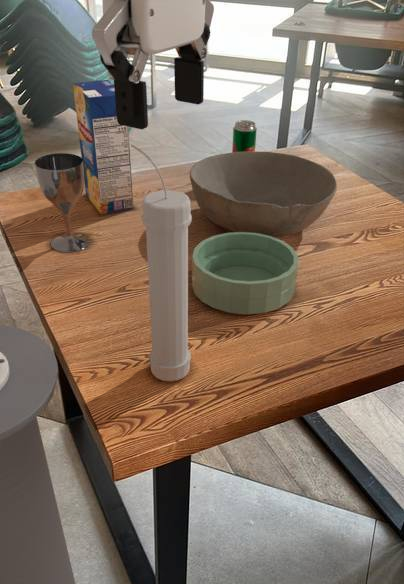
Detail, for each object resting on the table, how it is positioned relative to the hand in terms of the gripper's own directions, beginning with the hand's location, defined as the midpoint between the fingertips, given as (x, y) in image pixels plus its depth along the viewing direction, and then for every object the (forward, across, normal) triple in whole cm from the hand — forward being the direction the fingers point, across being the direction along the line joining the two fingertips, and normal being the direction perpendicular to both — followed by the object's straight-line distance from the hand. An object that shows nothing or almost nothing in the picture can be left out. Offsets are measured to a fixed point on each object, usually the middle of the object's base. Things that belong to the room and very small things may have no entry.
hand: (162, 113), depth 57 cm
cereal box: (+33, -38, -42) cm, 66 cm away
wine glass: (+33, -20, -36) cm, 53 cm away
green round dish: (+33, -24, -2) cm, 41 cm away
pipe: (+33, 0, 0) cm, 33 cm away
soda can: (+33, -66, -25) cm, 78 cm away
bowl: (+33, -47, -11) cm, 59 cm away
